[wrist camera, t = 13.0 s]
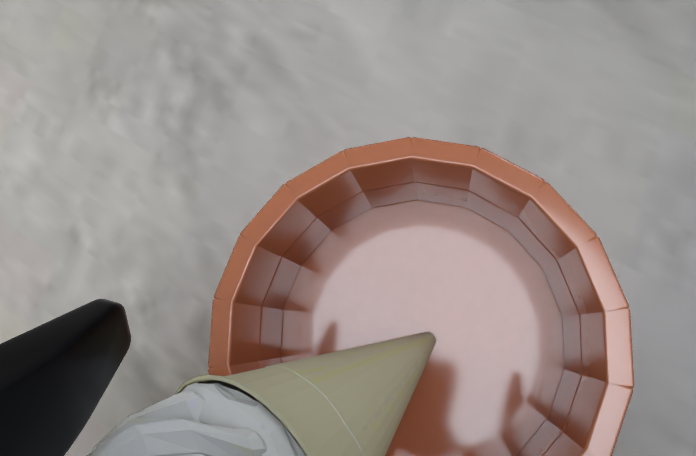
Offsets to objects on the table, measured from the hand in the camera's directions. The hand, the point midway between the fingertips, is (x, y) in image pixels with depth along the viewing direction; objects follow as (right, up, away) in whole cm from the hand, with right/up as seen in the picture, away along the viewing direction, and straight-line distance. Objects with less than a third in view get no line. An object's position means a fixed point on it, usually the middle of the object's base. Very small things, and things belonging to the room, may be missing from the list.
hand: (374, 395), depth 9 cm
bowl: (+2, -1, +10) cm, 10 cm away
